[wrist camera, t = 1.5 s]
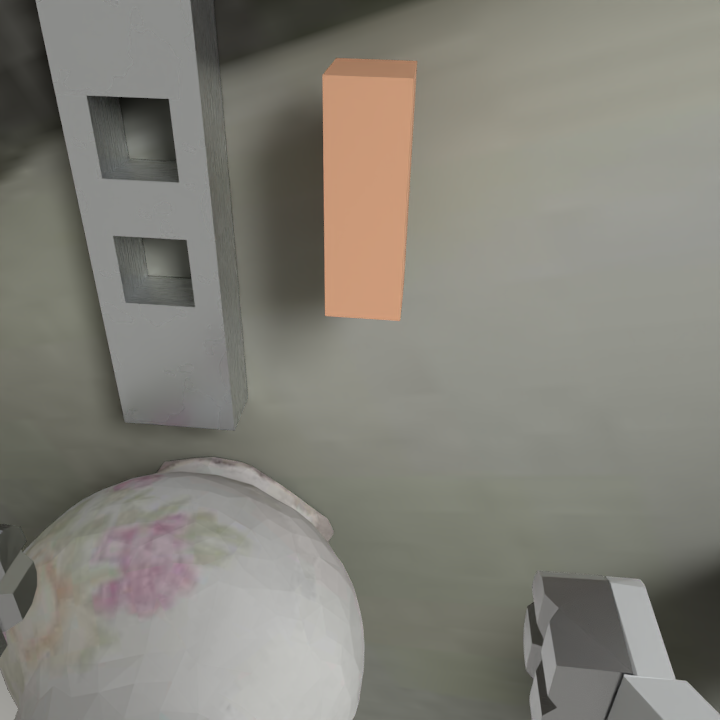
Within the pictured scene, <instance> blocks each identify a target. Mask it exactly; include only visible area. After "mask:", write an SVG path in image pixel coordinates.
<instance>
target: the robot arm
mask: <svg viewBox="0 0 720 720" xmlns="http://www.w3.org/2000/svg"><path fill="white" fill-rule="evenodd" d="M26 542H27V541H26V539H25V536H24V534H23V531H22V529H21V527H18V526H13V525H6V524H0V657H1V655H2V654H3V652H4V650H5V649H6V647H7V645H8V644H7V637H6V631H7V630H9V629H10V628H12V627H13V626H15V625H16V624H18V623H19V622H21V621H22V620H23V619H24V617H25V615H26V614H27V612H28V610H29V609H30V607H31V605H32V603H33V599H34V595H35V592H36V588H37V571H36V567H35V564H34V561H33V560H32V559H30V558H29V557H28V556H27V555H26V554H25V553H23V552H22V551H21V549H22V548H23V546H24V545H25V543H26ZM532 592H533V599H534V602H533V603H532V604H530V605H529V606H527V611H526V616H525V622H524V637H523V642H524V658H525V667H526V671H527V672H528V673H529V674H530V675H531V677H532V678H533V679H534V680H533V685H532V689H531V693H530V697H529V701H530V708H531V716H532V720H720V714H719V713H718V712H717V711H716V710H715V709H714V708H713V707H712V706H711V705H710V704H709V703H708V702H707V701H706V700H705V699H704V698H703V697H702V696H701V695H700V694H699V693H698V692H697V691H696V690H695V689H694V688H693V687H692V686H691V685H690V684H689V683H688V682H687V681H684V680H677V679H675V676H674V672H673V669H672V666H671V663H670V660H669V657H668V654H667V651H666V648H665V645H664V642H663V639H662V636H661V633H660V630H659V627H658V624H657V621H656V617H655V614H654V611H653V608H652V605H651V602H650V599H649V596H648V593H647V590H646V587H645V585H644V583H643V582H642V581H641V580H640V579H633V578H622V577H610V576H605V577H604V576H602V575H590V574H577V573H564V572H551V571H537V573H536V574H535V576H534V580H533V584H532Z"/></svg>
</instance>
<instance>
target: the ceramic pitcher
mask: <svg viewBox="0 0 720 720" xmlns="http://www.w3.org/2000/svg"><path fill="white" fill-rule="evenodd" d="M333 533H334V531H333V529H332V526H331V524H330V522H329V520H328V519H327V518H326V517H325V516H323V515H322V514H320V513H319V512H318V511H316V510H315V509H313V508H312V507H311V506H309V505H308V504H306V503H305V502H304V501H303V500H301V499H300V498H299V497H297V496H296V495H295V494H293V493H292V492H290V491H289V490H288V489H286V488H285V487H283V486H282V485H280V484H279V483H277V482H276V481H274V480H273V479H271V478H270V477H268V476H267V475H265V474H264V473H262V472H260V471H259V470H257V469H256V468H254V467H253V466H250V465H248V464H245V463H243V462H239V461H233V460H228V459H222V458H217V457H203V458H190V459H182V460H174V461H166V462H164V463H163V465H162V466H161V468H160V469H159V470H158V472H157V473H156V474H151V475H146V476H141V477H136V478H131V479H129V480H126V481H124V482H121V483H118V484H116V485H113V486H110V487H108V488H105V489H103V490H100V491H98V492H96V493H94V494H92V495H90V496H89V497H87V498H85V499H83V500H81V501H79V502H78V503H77V504H75V505H74V506H72V507H71V508H70V509H68V510H67V511H66V512H65V513H64V514H62V515H61V516H60V517H59V518H58V519H57V520H55V521H54V522H53V523H52V524H51V525H50V526H48V527H47V528H46V529H45V530H44V531H43V532H42V533H41V534H40V535H39V536H38V537H37V538H36V539H35V540H34V541H33V542H32V543H31V544H30V545H29V546H28V547H27V548H26V549H25V550H24V551H23V553H25V554H26V555H27V556H28V557H29V558H30V559H32V560H33V561H34V564H35V567H36V571H37V588H36V592H35V595H34V599H33V603H32V605H31V607H30V609H29V610H28V612H27V614H26V615H25V617H24V619H23V620H22V621H21V622H19V623H18V624H16V625H15V626H13V627H12V628H10V629H9V630H7V631H6V637H7V644H8V645H7V647H6V649H5V650H4V652H3V654H2V655H1V657H0V670H1V673H2V675H3V678H4V681H5V684H6V686H7V689H8V691H9V693H10V694H11V696H12V698H13V700H14V702H15V703H16V705H17V707H18V711H17V714H16V717H15V720H352V719H353V717H354V716H355V713H356V710H357V706H358V703H359V697H360V690H361V683H362V677H363V670H364V648H365V645H364V632H363V623H362V617H361V613H360V609H359V604H358V600H357V597H356V593H355V590H354V587H353V584H352V582H351V580H350V578H349V576H348V574H347V572H346V570H345V568H344V566H343V564H342V562H341V561H340V560H339V558H338V557H337V556H336V554H335V553H334V551H333V549H332V548H331V546H330V545H329V543H328V541H329V540H330V538H331V537H332V535H333Z"/></svg>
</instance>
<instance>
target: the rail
mask: <svg viewBox="0 0 720 720" xmlns="http://www.w3.org/2000/svg"><path fill="white" fill-rule="evenodd" d="M35 1H36V5H37V10H38V15H39V19H40V24H41V29H42V34H43V38H44V43H45V48H46V52H47V57H48V62H49V67H50V71H51V76H52V81H53V85H54V90H55V95H56V100H57V104H58V109H59V114H60V118H61V123H62V128H63V133H64V137H65V142H66V147H67V151H68V156H69V161H70V166H71V170H72V175H73V180H74V184H75V189H76V194H77V199H78V203H79V208H80V213H81V218H82V222H83V227H84V232H85V236H86V241H87V246H88V251H89V255H90V260H91V265H92V269H93V274H94V279H95V284H96V288H97V293H98V298H99V302H100V307H101V312H102V317H103V321H104V326H105V331H106V335H107V340H108V345H109V350H110V354H111V359H112V364H113V368H114V373H115V378H116V383H117V387H118V392H119V397H120V401H121V406H122V411H123V416H124V420H125V422H129V423H142V424H155V425H168V426H181V427H194V428H207V429H220V430H233V431H235V428H236V426H237V424H238V421H239V419H240V416H241V414H242V411H243V409H244V406H245V404H246V401H247V399H248V392H247V380H246V369H245V357H244V346H243V334H242V323H241V311H240V300H239V288H238V276H237V265H236V253H235V242H234V230H233V219H232V207H231V196H230V184H229V173H228V161H227V150H226V138H225V127H224V115H223V103H222V92H221V80H220V69H219V57H218V46H217V34H216V23H215V11H214V0H35ZM119 97H135V98H160V99H169V105H170V113H171V121H172V129H173V137H174V144H175V152H176V160H177V161H161V160H140V159H129V156H128V150H127V144H126V138H125V132H124V126H123V120H122V113H121V107H120V101H119ZM142 237H143V238H161V239H179V240H187V247H188V255H189V262H190V270H191V278H175V277H159V276H148V271H147V265H146V259H145V253H144V247H143V241H142Z"/></svg>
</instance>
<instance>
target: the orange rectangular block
mask: <svg viewBox="0 0 720 720" xmlns="http://www.w3.org/2000/svg"><path fill="white" fill-rule="evenodd" d="M416 71H417V61H403V60H375V59H348V58H336V59H335V60H334V61H333V63H332V64H331V65H330V66H329V68H328V69H327V70H326V71H325V73H324V74H323V166H324V260H325V316H333V317H349V318H365V319H380V320H396V321H400V317H401V307H402V297H403V287H404V274H405V257H406V240H407V223H408V206H409V189H410V172H411V155H412V138H413V121H414V104H415V87H416Z"/></svg>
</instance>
